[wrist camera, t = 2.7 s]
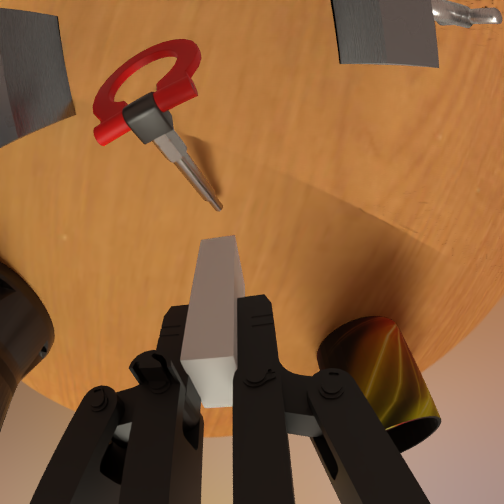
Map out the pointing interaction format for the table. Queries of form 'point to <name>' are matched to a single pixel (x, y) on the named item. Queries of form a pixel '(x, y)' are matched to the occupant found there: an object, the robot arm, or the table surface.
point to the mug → (384, 377)
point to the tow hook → (155, 109)
